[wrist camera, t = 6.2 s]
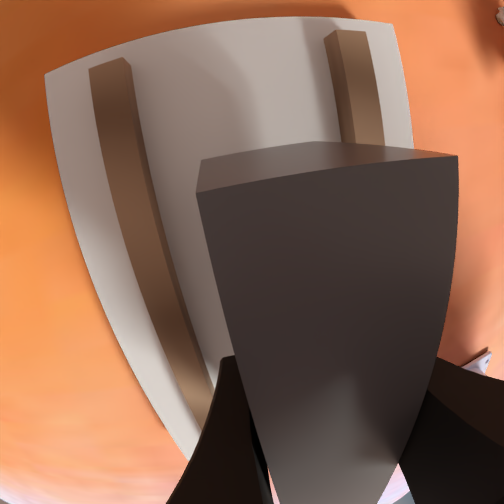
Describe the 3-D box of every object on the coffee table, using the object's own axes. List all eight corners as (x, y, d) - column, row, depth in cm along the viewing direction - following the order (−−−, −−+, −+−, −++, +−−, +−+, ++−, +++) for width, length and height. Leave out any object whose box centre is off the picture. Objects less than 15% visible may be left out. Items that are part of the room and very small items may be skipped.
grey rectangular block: (330, 417, 13) (372, 509, 8) (264, 435, 12) (290, 536, 7) (314, 141, 8) (458, 155, 3) (199, 160, 8) (190, 194, 3)
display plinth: (380, 389, 19) (400, 419, 16) (187, 437, 18) (188, 475, 15) (370, 34, 11) (408, 16, 8) (64, 81, 10) (29, 69, 7)
